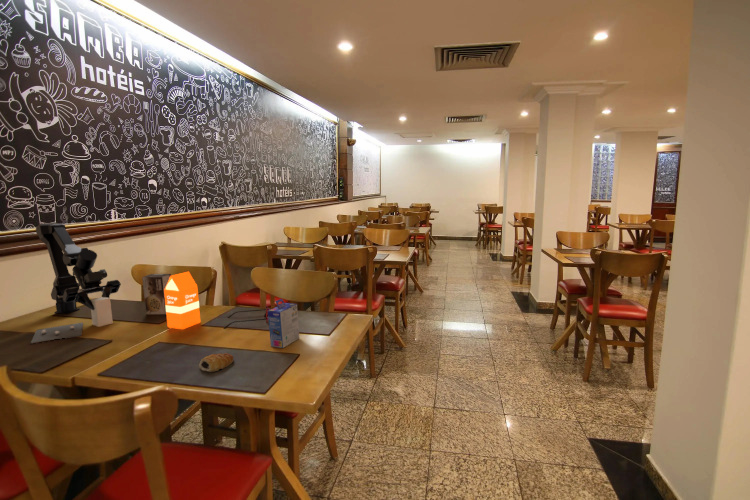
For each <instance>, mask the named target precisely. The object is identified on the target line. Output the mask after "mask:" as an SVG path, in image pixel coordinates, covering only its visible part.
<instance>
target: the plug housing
mask: <svg viewBox="0 0 750 500" xmlns="http://www.w3.org/2000/svg"><path fill="white" fill-rule="evenodd" d="M89 299H90V298H89ZM90 300H91V302H92V304H93V306H94V308H95V309H94V310H92V309H90V313H91V322H92V323H91V324H92V325H93V326H96V327H98V328H100V327H104V326H107V325H111V324H114V322H113V312H112V305H111V299H110V297H109V298H107V297H102V296H101V297H95V298H91V299H90Z"/></svg>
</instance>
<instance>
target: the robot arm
mask: <svg viewBox="0 0 750 500" xmlns="http://www.w3.org/2000/svg"><path fill="white" fill-rule="evenodd" d="M66 229H67V227H66V225H65V223H57V222H50V223H39V224H38V226H36V227H35V233H36V235H37V236H38V238H39V240H40V241H41V242H42V243H44V244H45V246H46V248H47V251H48V254H49V258H50V262H51V264H52V269H53V271H54V275H55V277H54V280H53V282H52V286H53V287H52V289H51V292H50V297H51V299H52V300H54V301H55V309H56V310H55V311H54V314H64V315H65V314H69V313H70V314H71V313H73V312H77V311H79V310H81V309H80V308H79V307H78V306H77V303H79V304H81V305H83V306H86V307H87V308H88V309H90V310H91V309H92V310H94V309H95V308H94V306H93V304H92V302H91V300H90V297H89V295H90V294H95V293H100V292H101V293H102V294H101V297H107V298H110V296H111V295H112V294H116V293H118V292H119V289H120V287H121V285H122V283H121V282H120V281H119V280H118V279H114V280H109V281H108V280H107V282H106V284H104V285H101V284H102V283H103V282H102V280H104V279H106V278H107V277H108V272H107V270H106V269H105V268H104V269H99V270H98V271H93V270H92V268H94V266H95V264H96V261H97V258H98V253H97V252H95V250H92V249H88V247H80V246H77V245H76V244H75V242H74V240H73V238H72V237H71V236H70V234H69V232H68V231H67V230H66ZM68 267H72V274H71V273H70V272H69V268H68Z"/></svg>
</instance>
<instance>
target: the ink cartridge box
mask: <svg viewBox="0 0 750 500" xmlns="http://www.w3.org/2000/svg"><path fill="white" fill-rule="evenodd" d="M280 302H281V303H280ZM274 303H275V304H276V306H275V307H274V308H271V309H270V310H268V315H267V318H268V320H267V321H268V329H269V330H268V331H269V339H270V340H269V341H270V346H271V347H272V348H273V347H274V348H279V349H284V348H286V347H287V346H289V345H290V344H292V343H294V342H295V341H297V340H299V339H300V328H299V313H298V304H297V303H289V302H284V299H283V298H280V299H278V300H275V301H274ZM279 303H280V304H279Z"/></svg>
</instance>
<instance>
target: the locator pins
mask: <svg viewBox="0 0 750 500" xmlns="http://www.w3.org/2000/svg"><path fill="white" fill-rule="evenodd" d="M70 330H74V325H71V326H70ZM45 334H46V330H42V335H45ZM58 335H60V334H59V331H55V336H58Z"/></svg>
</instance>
